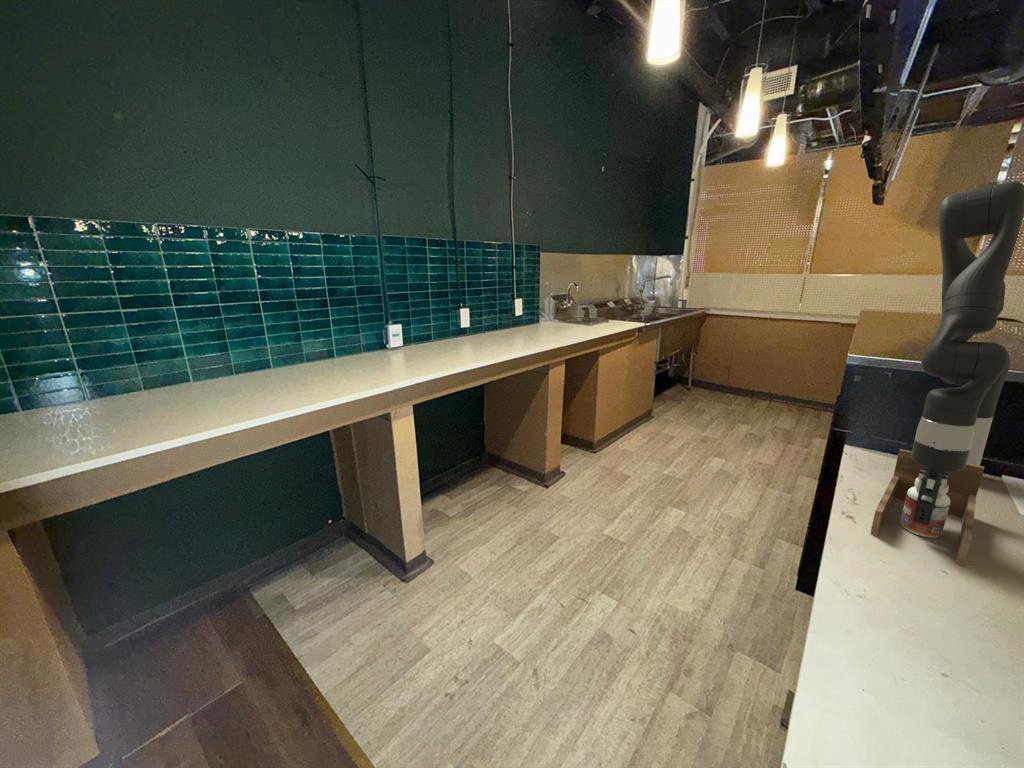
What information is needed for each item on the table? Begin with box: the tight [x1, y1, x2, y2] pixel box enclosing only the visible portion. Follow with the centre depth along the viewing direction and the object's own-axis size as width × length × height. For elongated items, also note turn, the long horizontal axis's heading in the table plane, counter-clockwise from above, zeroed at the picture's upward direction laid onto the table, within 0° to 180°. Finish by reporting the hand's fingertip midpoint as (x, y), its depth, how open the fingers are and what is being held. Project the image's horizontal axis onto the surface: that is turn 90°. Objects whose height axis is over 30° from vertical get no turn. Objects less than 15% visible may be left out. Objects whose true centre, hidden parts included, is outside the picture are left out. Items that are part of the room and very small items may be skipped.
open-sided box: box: [870, 448, 985, 567], centre depth 83 cm, size 23×13×12 cm, turn 130°
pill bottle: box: [900, 478, 950, 539], centre depth 81 cm, size 6×6×11 cm
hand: (923, 514), depth 82 cm, fingers open, 8 cm apart
